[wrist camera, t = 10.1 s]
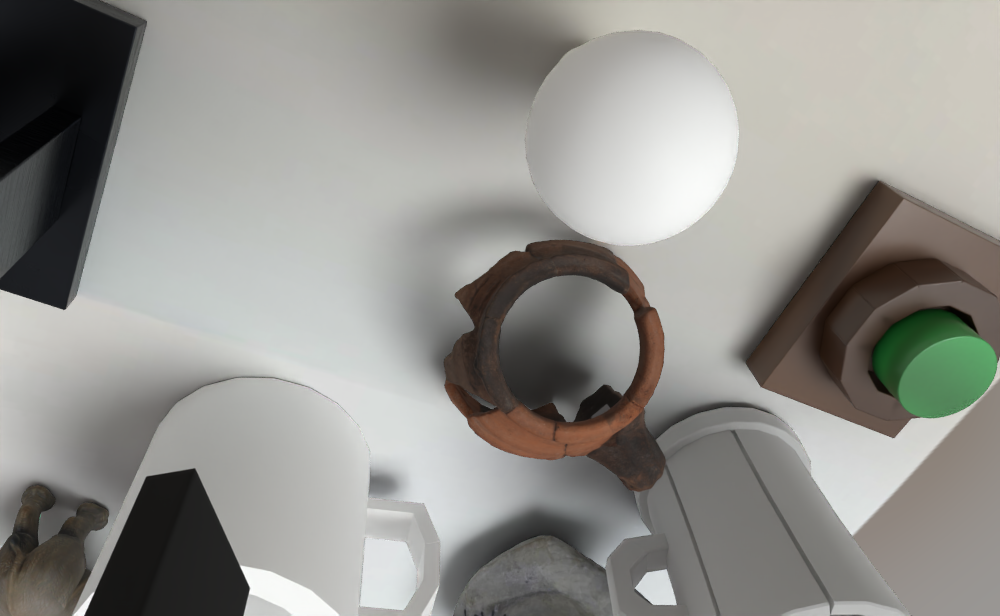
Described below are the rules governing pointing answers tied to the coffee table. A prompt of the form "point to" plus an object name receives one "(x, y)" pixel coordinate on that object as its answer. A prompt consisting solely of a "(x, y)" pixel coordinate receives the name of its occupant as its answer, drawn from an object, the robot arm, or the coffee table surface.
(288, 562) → the mug
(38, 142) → the switch bracket
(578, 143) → the lightbulb
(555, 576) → the fossil
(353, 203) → the coffee table surface
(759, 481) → the cup
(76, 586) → the rhino figurine
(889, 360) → the light button
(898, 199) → the button block
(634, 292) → the broken clay pot
